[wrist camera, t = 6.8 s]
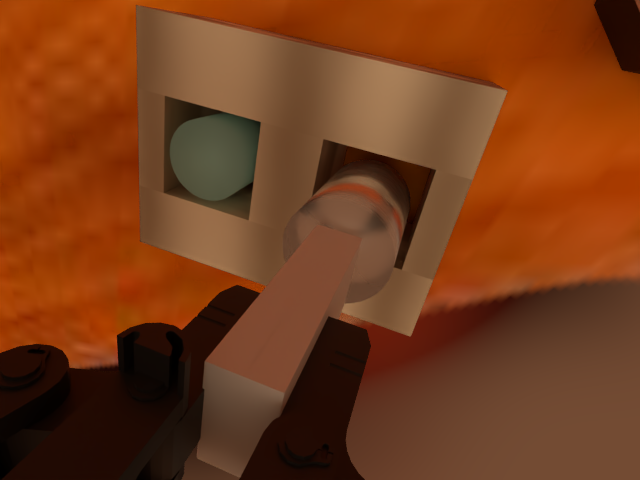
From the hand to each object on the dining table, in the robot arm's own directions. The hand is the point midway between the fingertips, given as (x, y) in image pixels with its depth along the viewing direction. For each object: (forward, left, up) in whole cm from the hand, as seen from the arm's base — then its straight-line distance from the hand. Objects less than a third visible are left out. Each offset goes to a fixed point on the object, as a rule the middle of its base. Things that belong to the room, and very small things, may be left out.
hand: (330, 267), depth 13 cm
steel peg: (0, 0, -7) cm, 7 cm away
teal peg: (-8, 0, -11) cm, 14 cm away
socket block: (-4, 0, -12) cm, 13 cm away
